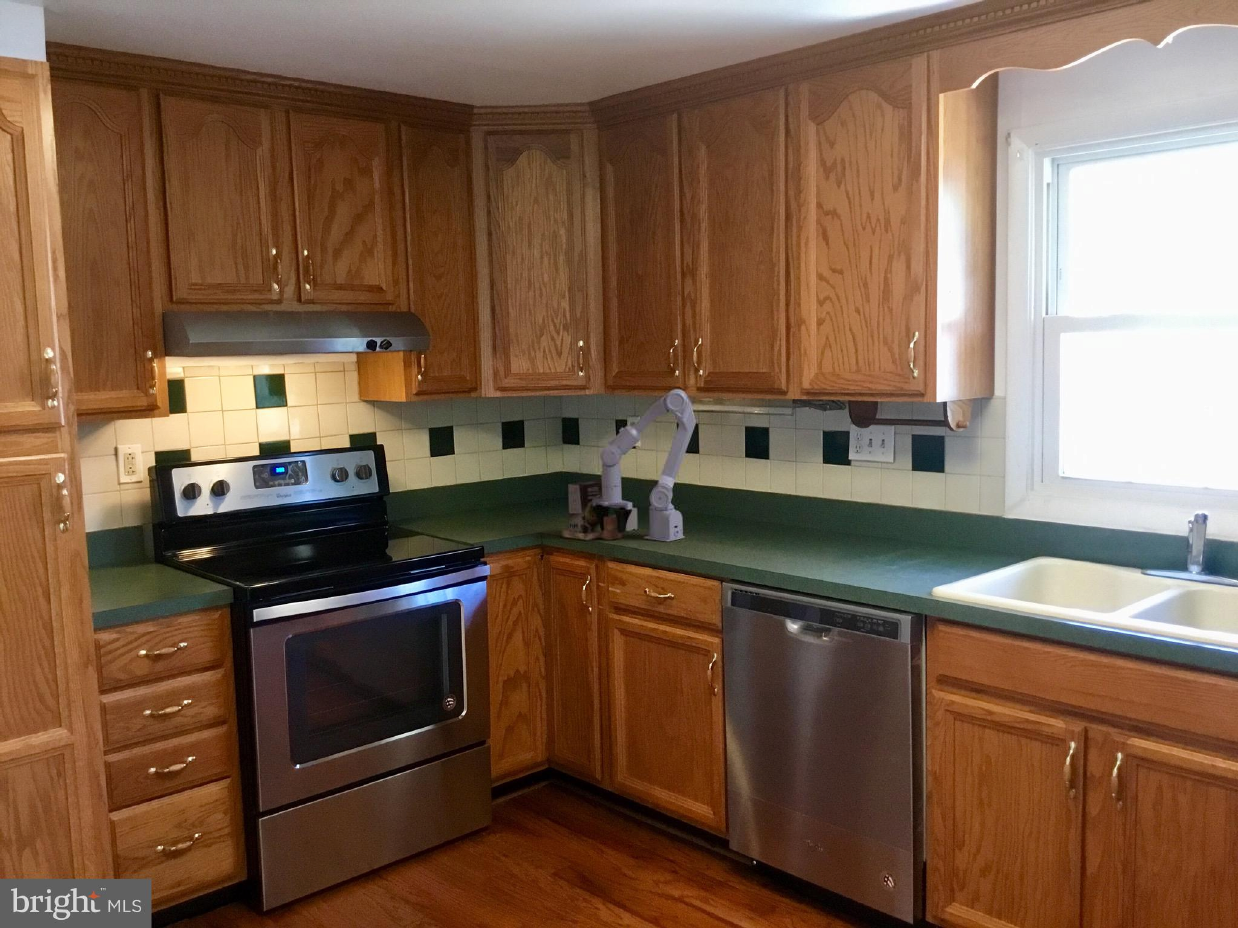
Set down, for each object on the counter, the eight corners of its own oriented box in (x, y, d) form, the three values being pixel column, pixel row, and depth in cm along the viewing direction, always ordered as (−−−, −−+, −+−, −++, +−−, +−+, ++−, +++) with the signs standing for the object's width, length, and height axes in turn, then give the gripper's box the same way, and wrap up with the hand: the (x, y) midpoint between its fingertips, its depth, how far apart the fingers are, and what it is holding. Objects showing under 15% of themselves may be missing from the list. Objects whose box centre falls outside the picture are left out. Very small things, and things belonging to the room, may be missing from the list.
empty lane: (640, 528, 340) (640, 507, 340) (623, 531, 335) (622, 510, 334) (603, 523, 352) (603, 503, 351) (586, 526, 346) (585, 506, 345)
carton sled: (631, 535, 327) (630, 513, 326) (600, 541, 318) (599, 519, 317) (593, 530, 338) (592, 509, 338) (561, 536, 329) (561, 515, 328)
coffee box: (583, 538, 325) (582, 485, 323) (568, 536, 329) (567, 483, 328) (605, 534, 331) (603, 481, 330) (590, 532, 336) (588, 480, 334)
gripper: (584, 485, 324) (586, 531, 325) (620, 489, 314) (621, 535, 315) (601, 483, 329) (602, 527, 330) (636, 486, 319) (637, 532, 320)
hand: (612, 531), depth 323 cm, fingers open, 7 cm apart
